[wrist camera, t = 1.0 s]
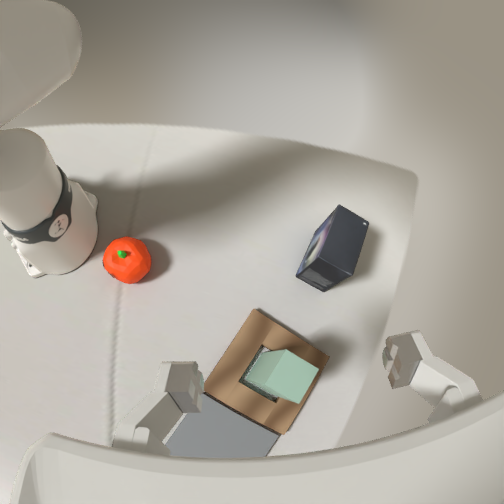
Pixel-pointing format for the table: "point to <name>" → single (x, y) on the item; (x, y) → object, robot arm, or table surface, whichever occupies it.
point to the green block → (283, 374)
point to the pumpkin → (127, 259)
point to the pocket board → (239, 357)
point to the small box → (333, 250)
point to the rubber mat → (219, 434)
